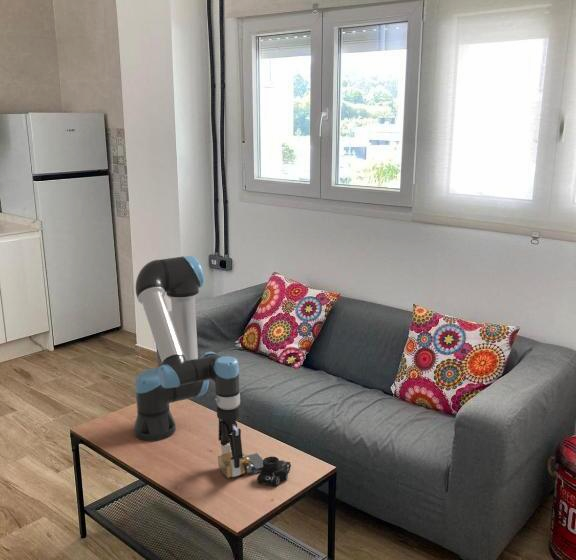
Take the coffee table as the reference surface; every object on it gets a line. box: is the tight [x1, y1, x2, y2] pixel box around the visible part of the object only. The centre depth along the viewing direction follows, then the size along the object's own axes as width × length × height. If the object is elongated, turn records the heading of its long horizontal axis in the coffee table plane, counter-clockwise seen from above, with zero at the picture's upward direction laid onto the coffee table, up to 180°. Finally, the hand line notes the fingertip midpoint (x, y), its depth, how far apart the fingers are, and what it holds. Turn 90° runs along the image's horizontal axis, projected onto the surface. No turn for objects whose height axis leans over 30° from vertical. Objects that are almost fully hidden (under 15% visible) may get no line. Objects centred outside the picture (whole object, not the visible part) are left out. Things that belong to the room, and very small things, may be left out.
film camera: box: [257, 456, 292, 487], centre depth 207 cm, size 13×8×10 cm
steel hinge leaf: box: [243, 452, 264, 476], centre depth 213 cm, size 8×9×3 cm
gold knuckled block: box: [217, 451, 252, 479], centre depth 211 cm, size 10×8×4 cm
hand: (231, 469), depth 210 cm, fingers closed on gold knuckled block, 8 cm apart
